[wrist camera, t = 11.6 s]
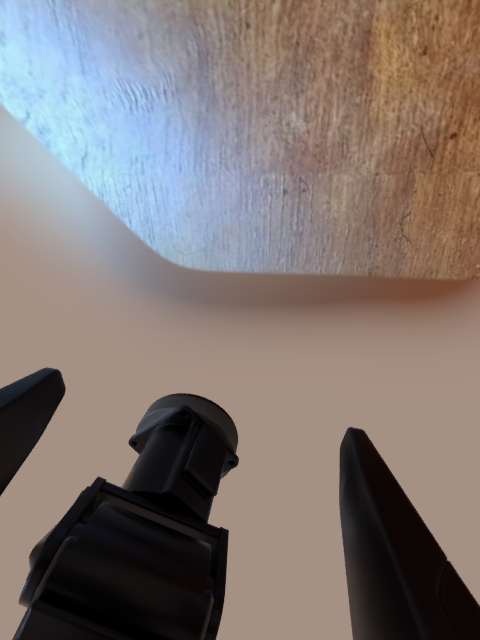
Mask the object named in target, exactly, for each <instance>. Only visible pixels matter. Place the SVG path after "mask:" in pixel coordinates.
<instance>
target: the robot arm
mask: <svg viewBox="0 0 480 640" xmlns="http://www.w3.org/2000/svg"><path fill="white" fill-rule="evenodd" d="M64 394H65V384H64V381H63V378H62V375H61V372H60V371H59V370H57V369H53V368H44V369H41V370H39V371H37V372H35V373H33V374H31V375H29V376H26V377H24V378H22V379H20V380H18V381H16V382H14V383H12V384H10V385H7V386H5V387H3V388H1V389H0V496H1V494H2V493H3V491H4V490H5V488H6V487H7V485H8V484H9V483H10V481H11V480H12V478H13V477H14V475H15V474H16V473H17V471H18V469H19V468H20V467H21V465H22V464H23V462H24V461H25V460H26V458H27V457H28V455H29V454H30V452H31V451H32V449H33V448H34V446H35V445H36V443H37V442H38V440H39V439H40V437H41V436H42V434H43V432H44V431H45V429H46V427H47V425H48V423H49V422H50V420H51V418H52V416H53V414H54V412H55V411H56V409H57V407H58V405H59V403H60V402H61V400H62V398H63V396H64ZM183 411H185V412H186V413H184V412H183ZM129 445H130V446H131V447H132V448H133V449H134V450H135V451H136V452H137V453H139V457H138V459H137V461H136V462H135V464H134V466H133V468H132V470H131V471H130V473H129V475H128V477H127V479H126V480H125V482H124V484H123V486H122V488H121V487H118V486H116V485H113V484H111V483H109V482H106V479H103V478H101V477H97V479H96V480H95V481H94V482H93V484H92V485H91V486H90V487H89V486H88V487H87V488H86V489H85V490H84V491H82V492H81V494H80V495H79V497H78V498H77V500H76V501H75V503H74V504H73V506H72V507H71V508H70V509H69V511H68V512H67V513H66V514H65V516H64V517H63V518H62V520H61V521H60V522H59V523H58V524H57V525H56V526H55V527H54V528H53V529H52V530H51V531H50V532H49V533H48V534H47V535H46V536H45V537H44V538H43V539H42V540H40V541H39V542H38V543H37V545H36V546H35V547H34V548H33V550H32V552H31V554H30V556H29V564H30V572H29V574H28V577H27V579H26V583H25V585H24V588H23V590H22V593H21V595H20V599H19V604H20V605H22V606H25V607H27V608H28V609H27V611H26V613H25V615H24V617H23V619H22V621H21V623H20V625H19V627H18V629H17V631H16V633H15V635H14V638H13V639H12V640H216V636H217V633H218V629H219V625H220V620H221V616H222V611H223V604H224V597H225V584H226V567H227V550H228V533H229V530H227V529H224V528H222V527H220V528H218V527H215V526H213V525H210V524H208V518H209V515H210V510H211V506H212V502H213V498H214V496H216V495H217V491H218V487H219V483H220V479H221V475H222V473H224V472H226V471H228V470H231V469H233V468H235V467H236V466H237V465H238V461H239V458H238V456H237V455H236V454H235V453H234V452H233V451H232V450H231V449H230V448H229V447H228V446H227V445H226V444H225V443H224V442H223V441H222V440H221V439H220V438H219V437H218V436H217V435H216V433H215V432H214V431H213V430H212V429H211V428H210V427H209V426H208V425H207V424H206V423H205V422H204V421H203V420H202V419H201V418H200V417H199V416H198V415H197V414H196V413H195V412H194V411H193V410H192V409H191V408H190V407H189V406H187V405H182V406H180V407H178V408H176V409H175V410H173V411H172V412H170V413H168V414H167V415H165V416H164V417H162V418H160V419H159V420H157V421H156V422H154V423H152V424H151V425H149V426H147V427H146V428H144V429H143V430H141V431H139V432H138V433H136V434H135V435H133V436H132V437H131V438H130V440H129ZM231 460H232V461H231ZM339 488H340V489H339V500H340V502H339V503H340V517H341V527H342V537H343V546H344V556H345V566H346V576H347V585H348V596H349V605H350V615H351V625H352V634H353V640H480V606H479V604H478V603H477V601H476V600H475V598H474V597H473V595H472V594H471V593H470V591H469V590H468V588H467V587H466V585H465V584H464V582H463V581H462V579H461V578H460V577H459V575H458V573H457V572H456V570H455V569H454V567H453V566H452V564H451V562H450V561H447V557H446V555H445V553H444V552H443V550H442V549H441V547H440V546H439V544H438V543H437V541H436V540H435V538H434V537H433V535H432V534H431V532H430V531H429V529H428V528H427V526H426V524H425V523H424V521H423V520H422V518H421V517H420V516H419V514H418V512H417V511H416V509H415V508H414V506H413V505H412V503H411V502H410V500H409V499H408V497H407V495H406V494H405V493H404V491H403V489H402V488H401V486H400V485H399V483H398V482H397V480H396V479H395V477H394V476H393V474H392V472H391V471H390V469H389V468H388V466H387V465H386V463H385V462H384V460H383V459H382V457H381V456H380V454H379V453H378V451H377V450H376V448H375V447H374V445H373V443H372V442H371V440H370V439H369V438H368V436H367V434H366V433H365V431H363V430H362V429H358V428H352V427H350V428H348V429H347V431H346V434H345V436H344V438H343V441H342V443H341V447H340V487H339Z"/></svg>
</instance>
